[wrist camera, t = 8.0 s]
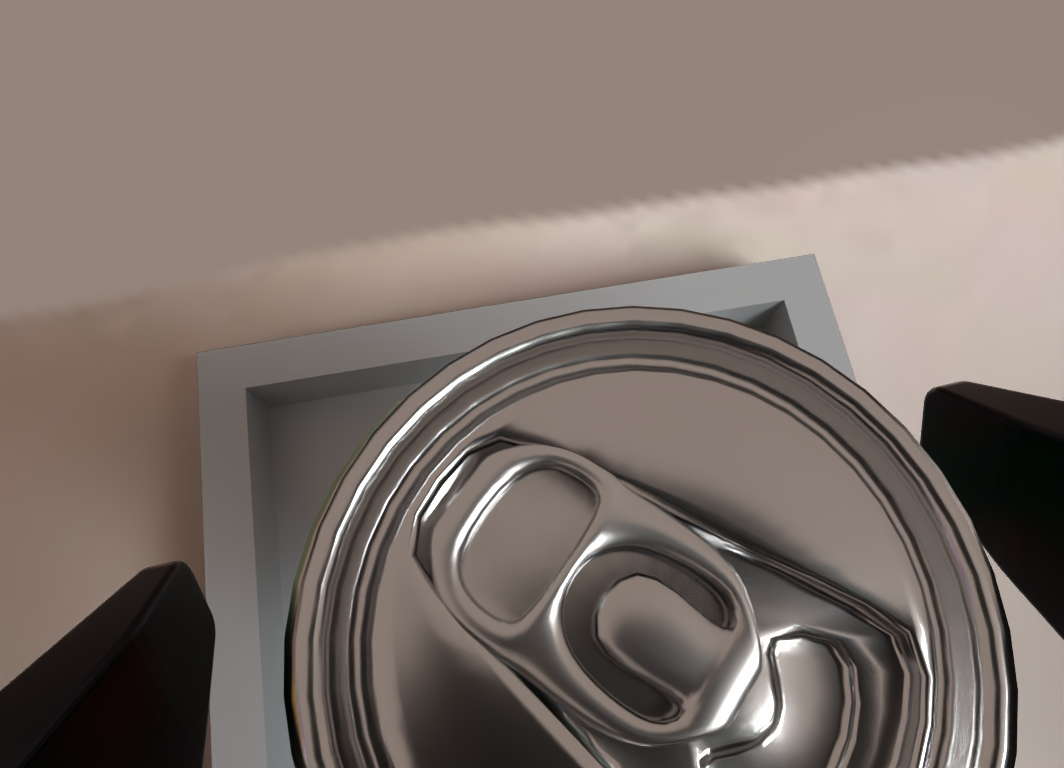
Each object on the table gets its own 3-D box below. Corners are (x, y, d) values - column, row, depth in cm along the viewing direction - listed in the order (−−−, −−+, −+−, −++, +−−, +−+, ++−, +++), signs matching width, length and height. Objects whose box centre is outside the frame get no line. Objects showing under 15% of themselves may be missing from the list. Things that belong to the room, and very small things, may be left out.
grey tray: (785, 291, 19) (814, 253, 17) (984, 930, 14) (1052, 976, 13) (231, 381, 18) (196, 352, 16) (267, 1086, 14) (226, 1160, 12)
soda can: (598, 817, 15) (831, 1481, 3) (398, 660, 16) (32, 746, 4) (728, 601, 16) (1221, 531, 5) (537, 467, 17) (546, 131, 5)
